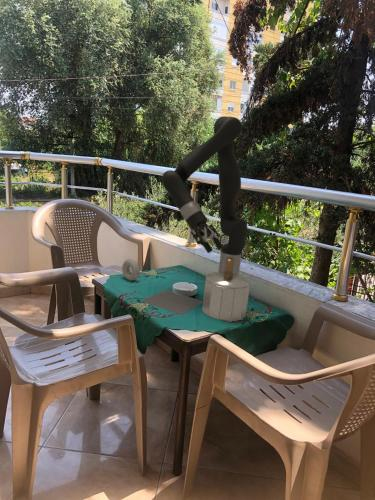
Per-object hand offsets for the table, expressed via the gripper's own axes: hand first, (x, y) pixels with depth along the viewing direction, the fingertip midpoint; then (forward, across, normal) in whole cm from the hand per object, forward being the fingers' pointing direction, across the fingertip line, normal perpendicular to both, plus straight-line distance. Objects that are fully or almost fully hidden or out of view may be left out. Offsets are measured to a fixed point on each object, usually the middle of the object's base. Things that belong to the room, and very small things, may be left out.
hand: (215, 250), depth 156 cm
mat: (+7, -6, +26) cm, 28 cm away
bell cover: (+22, 0, +12) cm, 25 cm away
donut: (-13, +2, +47) cm, 49 cm away
